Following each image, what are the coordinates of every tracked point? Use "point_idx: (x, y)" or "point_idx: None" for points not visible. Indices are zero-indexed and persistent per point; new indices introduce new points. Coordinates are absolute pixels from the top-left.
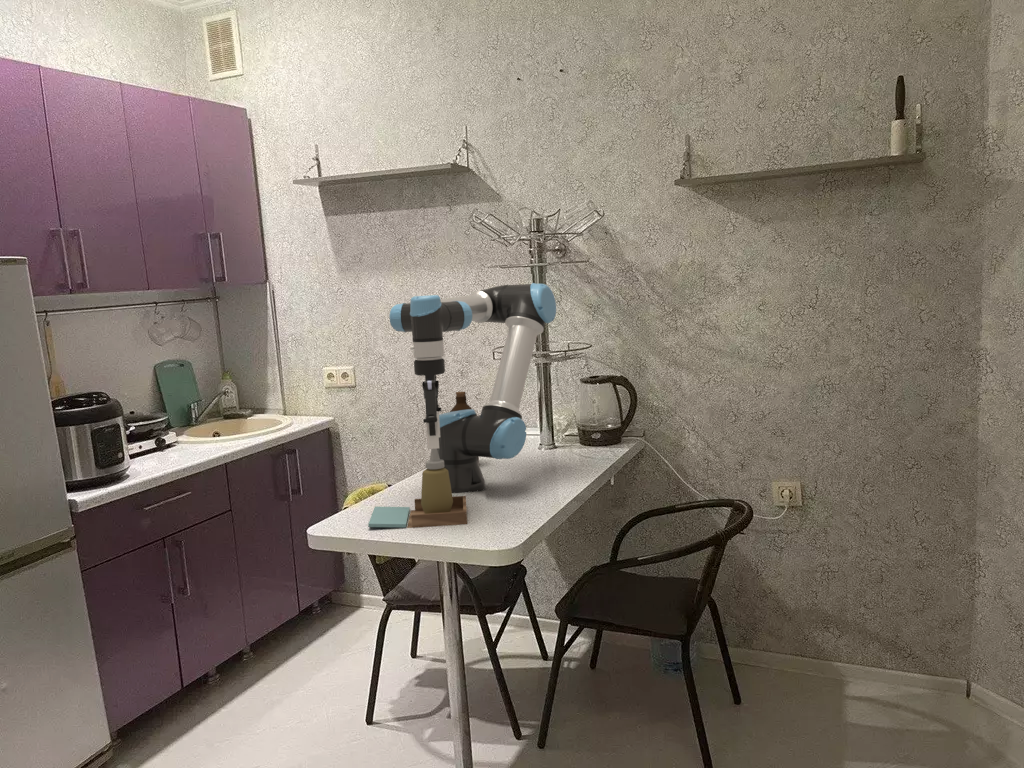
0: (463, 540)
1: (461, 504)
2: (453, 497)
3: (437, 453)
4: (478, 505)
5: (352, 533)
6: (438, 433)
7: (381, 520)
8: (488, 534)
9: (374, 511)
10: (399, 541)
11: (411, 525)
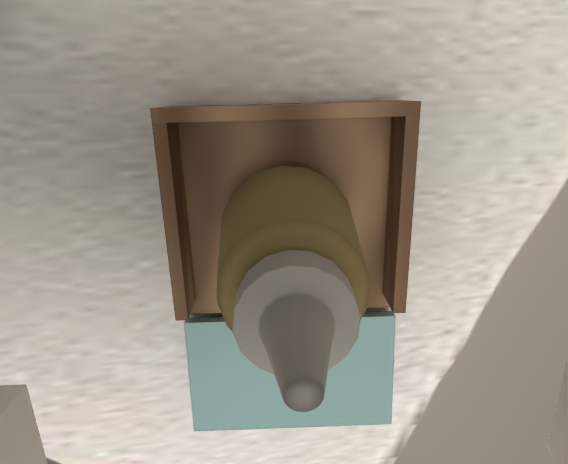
0: (536, 113)
1: (175, 128)
2: (170, 165)
3: (313, 336)
4: (92, 54)
5: (359, 440)
6: (2, 432)
7: (355, 392)
8: (500, 15)
9: (255, 424)
10: (474, 313)
11: (369, 296)
